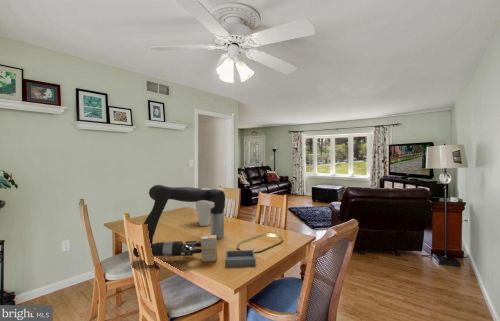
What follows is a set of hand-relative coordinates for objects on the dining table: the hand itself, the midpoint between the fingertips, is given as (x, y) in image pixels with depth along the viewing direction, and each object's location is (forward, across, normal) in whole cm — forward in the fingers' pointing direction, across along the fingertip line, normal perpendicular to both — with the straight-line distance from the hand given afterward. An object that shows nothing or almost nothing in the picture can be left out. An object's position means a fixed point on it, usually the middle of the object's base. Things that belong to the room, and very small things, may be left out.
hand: (202, 247), depth 132 cm
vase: (-7, +65, +7) cm, 66 cm away
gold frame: (+34, +21, +8) cm, 41 cm away
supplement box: (+4, 0, +7) cm, 8 cm away
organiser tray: (+21, -3, +7) cm, 22 cm away
